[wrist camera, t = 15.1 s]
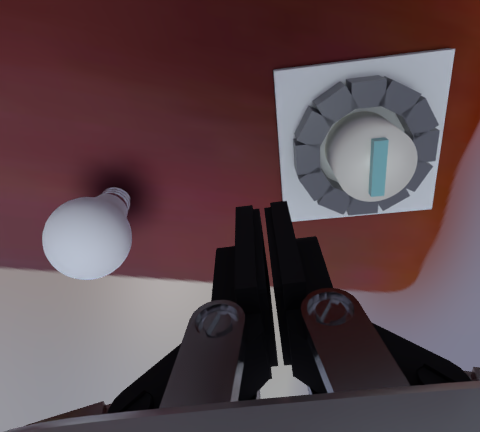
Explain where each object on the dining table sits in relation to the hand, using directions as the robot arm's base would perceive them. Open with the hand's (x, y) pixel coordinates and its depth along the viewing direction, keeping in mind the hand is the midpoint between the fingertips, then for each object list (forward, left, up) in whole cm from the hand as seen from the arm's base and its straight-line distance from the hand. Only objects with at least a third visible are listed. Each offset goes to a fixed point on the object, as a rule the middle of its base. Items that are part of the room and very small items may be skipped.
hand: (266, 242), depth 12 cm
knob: (+4, +9, -21) cm, 23 cm away
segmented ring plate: (+4, +9, -22) cm, 24 cm away
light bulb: (+7, -14, -22) cm, 28 cm away
